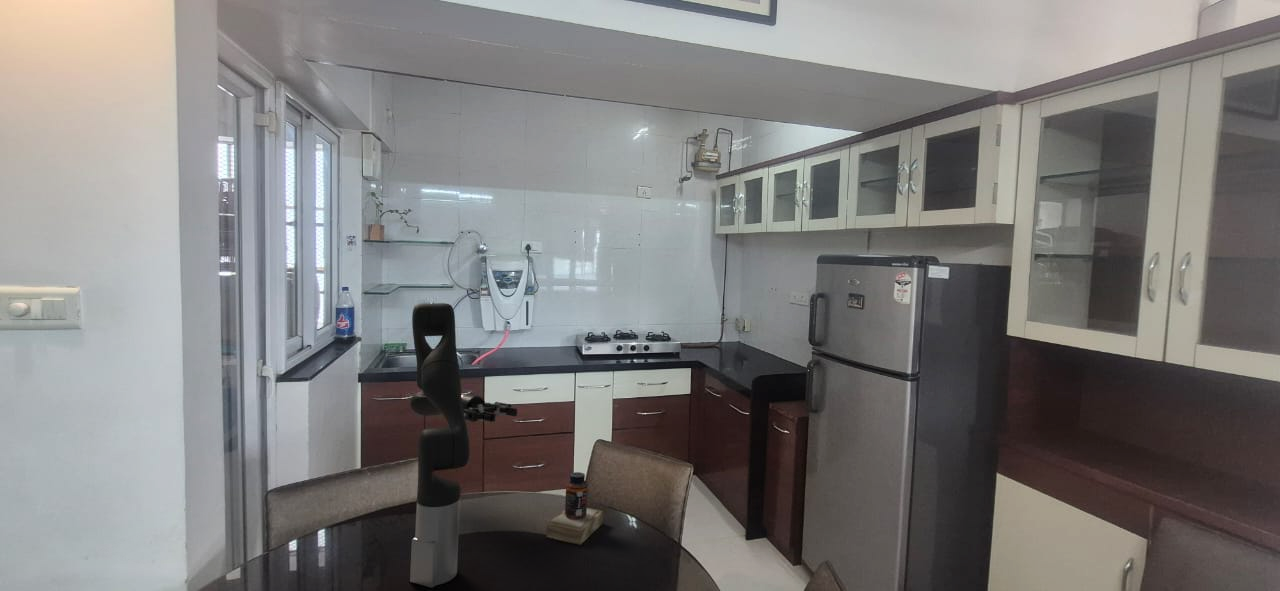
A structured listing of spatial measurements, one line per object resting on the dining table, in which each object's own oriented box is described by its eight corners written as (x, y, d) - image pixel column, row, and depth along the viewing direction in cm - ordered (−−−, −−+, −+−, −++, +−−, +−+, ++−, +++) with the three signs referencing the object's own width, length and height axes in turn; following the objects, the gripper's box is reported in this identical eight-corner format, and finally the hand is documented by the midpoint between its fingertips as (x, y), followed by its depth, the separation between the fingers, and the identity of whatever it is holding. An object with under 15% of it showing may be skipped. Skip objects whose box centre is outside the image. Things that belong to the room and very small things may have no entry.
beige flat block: (580, 544, 137) (581, 529, 137) (546, 537, 141) (547, 522, 141) (602, 523, 150) (602, 509, 150) (570, 517, 154) (571, 503, 154)
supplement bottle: (584, 520, 143) (586, 478, 143) (562, 519, 143) (564, 477, 143) (587, 511, 149) (589, 471, 149) (566, 510, 149) (568, 470, 149)
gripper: (446, 397, 151) (487, 405, 142) (483, 390, 163) (523, 398, 155) (445, 424, 151) (486, 433, 142) (482, 415, 163) (522, 423, 155)
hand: (505, 415), depth 149 cm, fingers open, 8 cm apart
